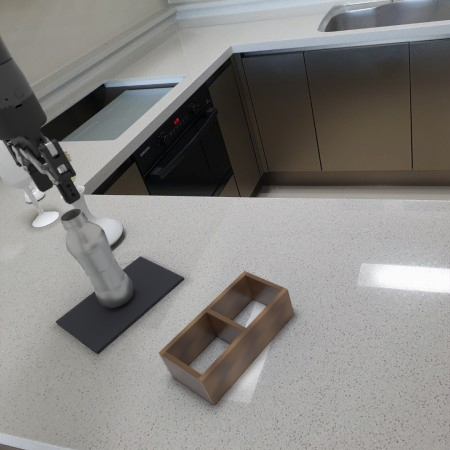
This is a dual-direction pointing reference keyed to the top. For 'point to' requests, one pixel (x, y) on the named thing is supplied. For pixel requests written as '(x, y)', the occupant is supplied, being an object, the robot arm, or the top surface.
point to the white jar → (36, 194)
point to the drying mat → (124, 315)
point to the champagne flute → (22, 184)
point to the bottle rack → (228, 335)
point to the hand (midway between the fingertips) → (60, 195)
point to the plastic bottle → (96, 259)
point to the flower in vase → (108, 225)
